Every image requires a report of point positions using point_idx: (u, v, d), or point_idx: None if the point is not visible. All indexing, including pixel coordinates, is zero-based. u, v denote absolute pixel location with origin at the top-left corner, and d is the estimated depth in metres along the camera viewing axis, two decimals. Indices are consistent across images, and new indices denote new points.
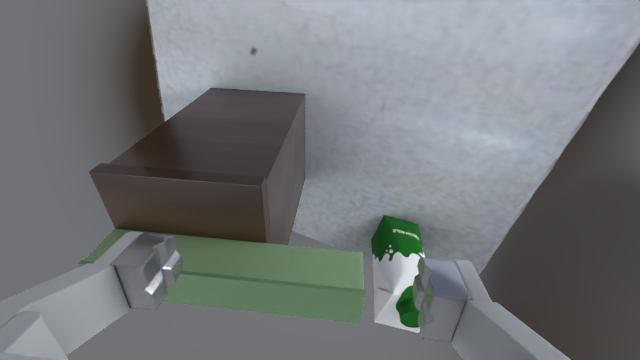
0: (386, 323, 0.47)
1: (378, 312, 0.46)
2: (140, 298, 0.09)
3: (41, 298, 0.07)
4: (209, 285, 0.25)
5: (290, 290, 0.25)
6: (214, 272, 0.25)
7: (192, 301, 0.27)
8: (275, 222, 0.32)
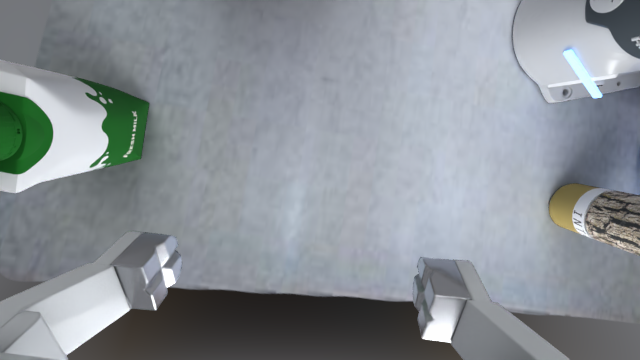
0: None
1: None
2: (140, 298, 0.09)
3: (41, 298, 0.07)
4: None
5: None
6: None
7: None
8: None
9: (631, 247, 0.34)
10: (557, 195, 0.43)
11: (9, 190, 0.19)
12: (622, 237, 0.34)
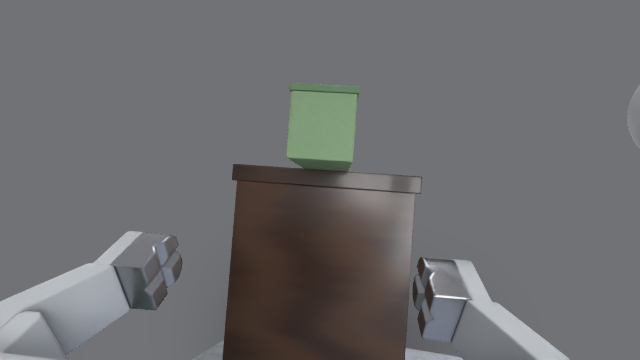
0: None
1: None
2: (140, 298, 0.09)
3: (41, 298, 0.07)
4: None
5: None
6: None
7: None
8: (337, 211, 0.27)
9: None
10: None
11: None
12: None
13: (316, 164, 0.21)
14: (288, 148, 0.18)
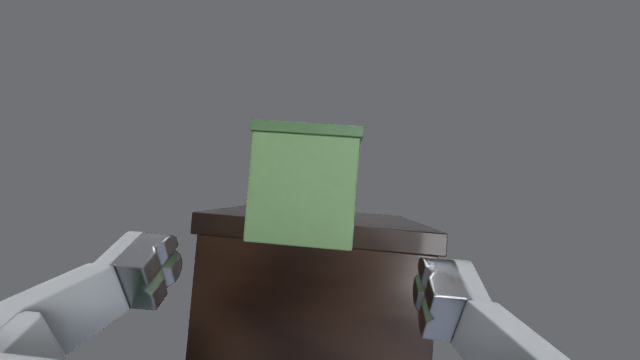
0: None
1: None
2: (140, 298, 0.09)
3: (41, 298, 0.07)
4: None
5: None
6: None
7: None
8: (331, 280, 0.20)
9: None
10: None
11: None
12: None
13: None
14: (246, 226, 0.11)
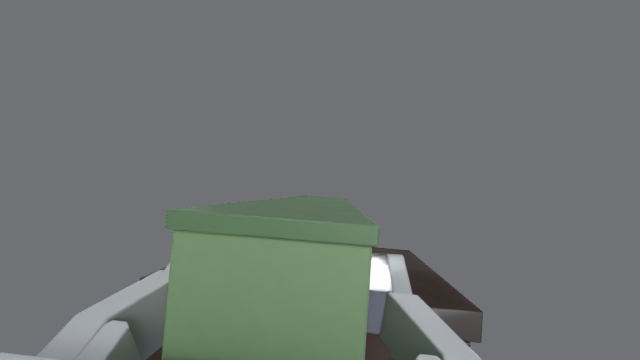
0: None
1: None
2: None
3: (123, 307, 0.07)
4: (333, 201, 0.19)
5: (343, 207, 0.12)
6: None
7: None
8: None
9: None
10: None
11: None
12: None
13: None
14: None
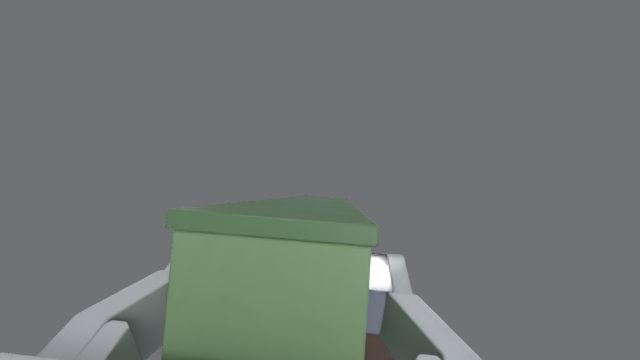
0: None
1: None
2: None
3: (123, 307, 0.07)
4: (334, 201, 0.19)
5: (343, 207, 0.12)
6: None
7: None
8: None
9: None
10: None
11: None
12: None
13: None
14: None
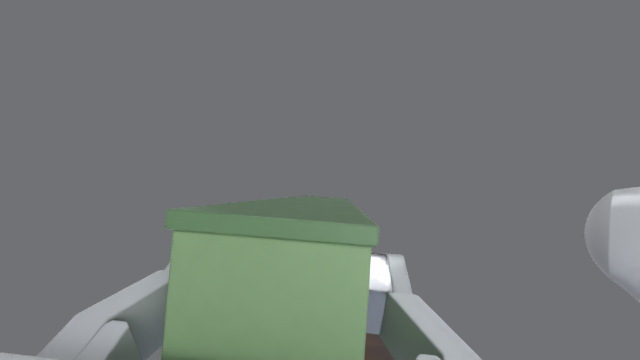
0: None
1: None
2: None
3: (123, 307, 0.07)
4: (334, 201, 0.19)
5: (343, 207, 0.12)
6: None
7: None
8: None
9: None
10: None
11: None
12: None
13: None
14: None
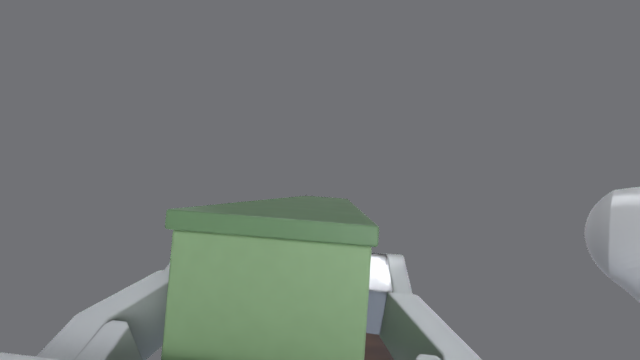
0: None
1: None
2: None
3: (123, 307, 0.07)
4: (334, 201, 0.19)
5: (343, 207, 0.12)
6: None
7: None
8: None
9: None
10: None
11: None
12: None
13: None
14: None
